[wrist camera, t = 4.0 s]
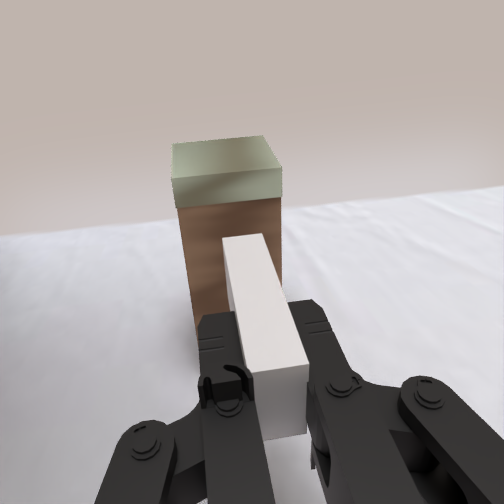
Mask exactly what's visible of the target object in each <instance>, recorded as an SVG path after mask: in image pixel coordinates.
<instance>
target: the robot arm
mask: <svg viewBox="0 0 504 504" xmlns="http://www.w3.org/2000/svg"><path fill="white" fill-rule="evenodd" d="M222 242H223V253H224V263H225V273H226V284H227V294H228V301H229V307H230V311H229V312H222V313H215V314H207V315H203V316H202V318H201V320H200V322H199V325H198V327H197V330H198V345H199V360H200V374H201V376H200V377H199V381H198V392H199V398H200V400H199V403H198V404H197V405H196V407H195V408H194V409H193V410H192V411H191V412H190V413H189V414H188V415H186V416H185V417H183V418H181V419H179V420H177V421H175V422H173V423H171V424H169V425H166V424H165V423H164V422H160V421H156V420H149V421H142V422H140V423H138V424H136V425H133V426H132V427H130V428H129V429H128V430H127V431H126V432H125V433H124V434H123V435H122V436H121V438H120V440H119V441H118V443H117V445H116V448H115V451H114V453H113V456H112V458H111V461H110V464H109V466H108V469H107V471H106V474H105V477H104V479H103V482H102V484H101V487H100V490H99V492H98V495H97V497H96V500H95V503H94V504H197V503H199V502H200V501H202V500H204V499H206V498H207V500H208V504H275V499H274V494H273V489H272V484H271V479H270V474H269V469H268V464H267V459H266V454H265V449H264V444H263V441H266V440H271V439H277V438H283V437H289V436H295V435H301V434H307V424H308V427H309V431H310V434H311V437H312V442H311V470H312V469H315V465H316V468H317V471H318V475H319V478H320V482H321V485H322V488H323V492H324V495H325V499H326V502H327V504H504V440H503V439H502V438H501V437H500V436H499V435H498V434H497V433H496V432H495V431H494V430H493V429H492V428H491V427H490V426H489V425H488V424H487V423H486V422H485V421H484V420H483V419H482V418H481V417H480V416H479V415H478V414H477V413H476V412H474V411H473V410H472V409H471V408H470V407H469V406H468V405H467V404H466V403H465V402H464V401H463V400H462V399H461V398H460V397H459V396H458V395H457V394H456V393H455V392H454V391H453V390H452V389H451V388H450V387H448V386H447V385H446V384H444V383H443V382H441V381H440V380H437V379H434V378H432V377H427V376H415V377H410V378H409V379H407V380H406V381H404V382H403V384H402V386H401V388H398V387H390V386H381V385H376V384H372V383H370V382H367V381H365V380H363V378H362V377H361V376H360V375H359V374H357V373H356V372H354V371H353V370H352V369H351V368H350V366H349V364H348V362H347V360H346V358H345V355H344V353H343V351H342V349H341V347H340V345H339V343H338V340H337V338H336V336H335V334H334V332H333V331H332V328H331V325H330V323H329V322H328V319H327V317H326V315H325V313H324V310H323V308H321V307H320V306H319V305H318V304H317V303H315V302H314V301H313V300H312V299H310V300H303V301H295V302H288V303H287V301H286V298H285V295H284V293H283V290H282V287H281V284H280V282H279V279H278V276H277V273H276V271H275V268H274V265H273V262H272V259H271V257H270V254H269V251H268V248H267V246H266V243H265V240H264V237H263V235H262V233H260V234H251V235H243V236H234V237H226V238H222Z"/></svg>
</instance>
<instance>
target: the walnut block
mask: <svg viewBox="0 0 504 504" xmlns="http://www.w3.org/2000/svg"><path fill="white" fill-rule="evenodd" d="M171 159H172V160H171V163H172V164H171V181H172V187H173V193H174V200H175V205H176V208H177V211H178V218H179V225H180V231H181V237H182V244H183V250H184V257H185V263H186V270H187V276H188V283H189V289H190V296H191V302H192V309H193V315H194V322H195V328H196V334H197V341H198V330H197V327H198V325H199V322H200V320H201V318H202V316H203V315H207V314H215V313H222V312H229V311H230V307H229V301H228V294H227V284H226V273H225V263H224V253H223V242H222V238H226V237H234V236H243V235H251V234H260V233H262V235H263V237H264V240H265V243H266V246H267V248H268V251H269V254H270V257H271V259H272V262H273V265H274V268H275V271H276V273H277V276H278V279H279V282H280V284H281V287H282V251H281V197H282V166H281V165H280V163H279V162H278V160H277V158H276V156H275V155H274V153H273V152H272V150H271V148H270V147H269V145H268V143H267V142H266V140H265V138H264V137H263V136H252V137H240V138H230V139H219V140H208V141H197V142H186V143H175V144H172V158H171ZM198 347H199V345H198Z"/></svg>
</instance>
